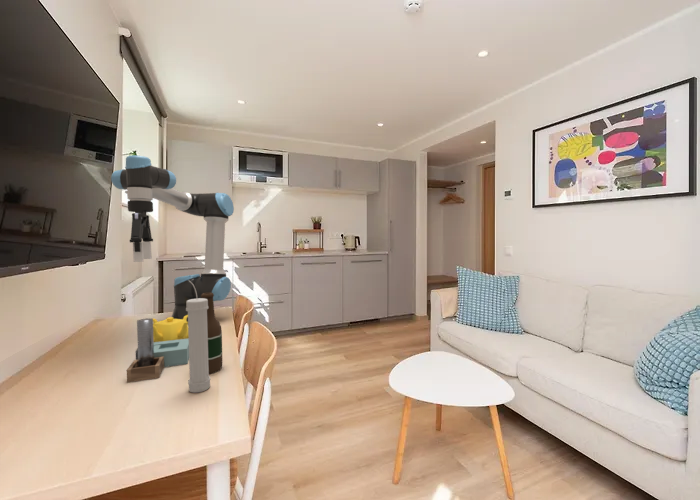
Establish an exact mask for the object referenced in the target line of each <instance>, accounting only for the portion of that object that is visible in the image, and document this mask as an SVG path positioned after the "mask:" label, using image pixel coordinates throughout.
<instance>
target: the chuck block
mask: <svg viewBox="0 0 700 500" xmlns="http://www.w3.org/2000/svg"><path fill="white" fill-rule="evenodd" d="M163 356H164V368H166V367H167V368H168V367H173V366H174V367H175V366H180V365H188V364H189V338H188V339H179V340H170V341H161V342H154V358H155V357H163Z"/></svg>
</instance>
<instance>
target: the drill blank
mask: <svg viewBox="0 0 700 500" xmlns="http://www.w3.org/2000/svg"><path fill="white" fill-rule="evenodd" d="M136 331H137V349H138V367H144V366H152V365H154V340H153V319H152V317H148V318H146V317H145V318H140V319H137V321H136Z"/></svg>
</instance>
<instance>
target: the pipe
mask: <svg viewBox="0 0 700 500" xmlns="http://www.w3.org/2000/svg"><path fill="white" fill-rule="evenodd" d="M188 281H189V280H188ZM189 282H190V283H191V284H192V285H193V283H192V282H191V281H189ZM193 287H194V285H193ZM194 289H195V287H194ZM195 292H196V289H195ZM196 297H197V292H196ZM186 306H187V308H186V311H188V335H189V360H188V365H189V379H188V381H187V382H188V383H187V384H188V391H189V392H191V393H202V392H204V391H207V390H208V389H210V387H211V376H210V374H209V366H208V330H207V309H209V307H208V300H207V299H205V298H197V299H190V300H188V301H187V302H186Z"/></svg>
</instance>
